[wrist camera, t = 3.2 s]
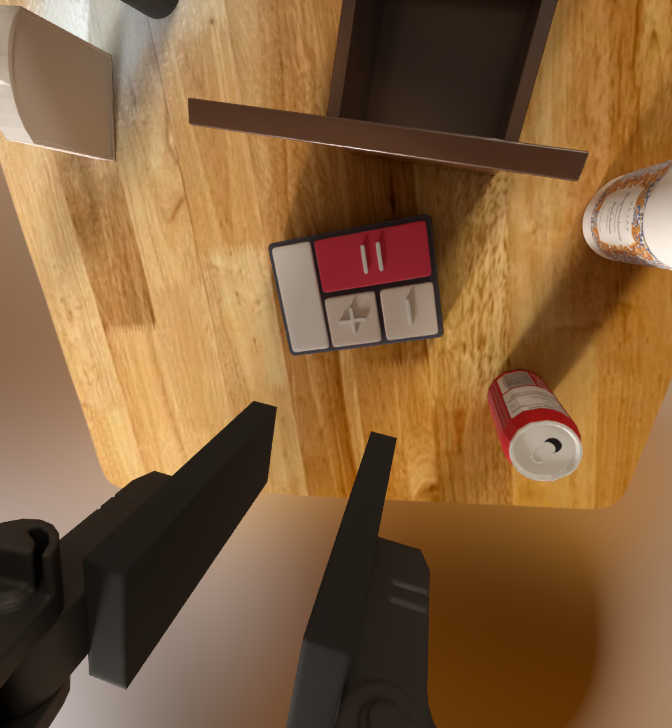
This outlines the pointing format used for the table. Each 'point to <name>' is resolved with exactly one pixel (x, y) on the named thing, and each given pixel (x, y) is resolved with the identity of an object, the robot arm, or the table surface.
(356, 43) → the chest
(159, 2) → the drinking cup
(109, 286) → the table surface
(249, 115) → the chest lid
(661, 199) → the bath foam
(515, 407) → the soda can
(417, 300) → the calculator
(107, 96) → the gravestone
